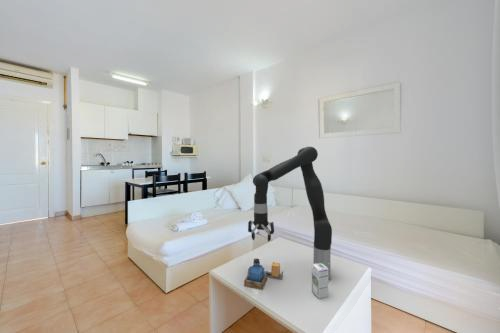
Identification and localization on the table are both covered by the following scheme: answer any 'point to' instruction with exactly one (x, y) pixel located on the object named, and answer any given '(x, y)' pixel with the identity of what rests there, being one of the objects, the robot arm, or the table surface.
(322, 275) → the syrup box
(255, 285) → the tray
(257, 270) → the perfume bottle
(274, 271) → the tan rectangular block
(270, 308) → the table surface
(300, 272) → the table surface
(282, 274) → the rail
